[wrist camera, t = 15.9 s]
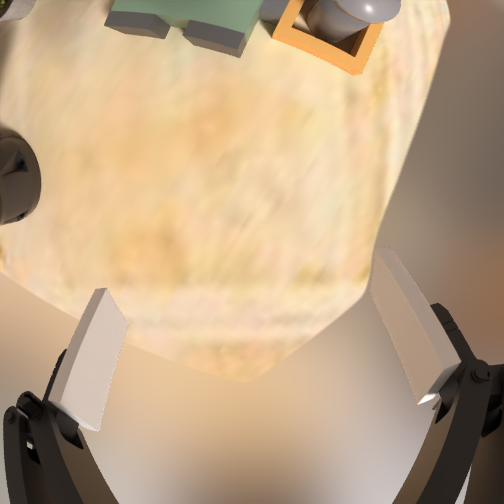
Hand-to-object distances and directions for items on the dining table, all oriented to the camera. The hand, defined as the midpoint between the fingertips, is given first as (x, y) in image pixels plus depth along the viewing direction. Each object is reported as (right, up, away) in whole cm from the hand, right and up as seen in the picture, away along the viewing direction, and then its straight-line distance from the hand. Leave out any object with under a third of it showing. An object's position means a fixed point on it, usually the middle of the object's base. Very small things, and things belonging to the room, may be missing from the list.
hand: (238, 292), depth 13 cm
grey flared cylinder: (+10, +30, +11) cm, 34 cm away
